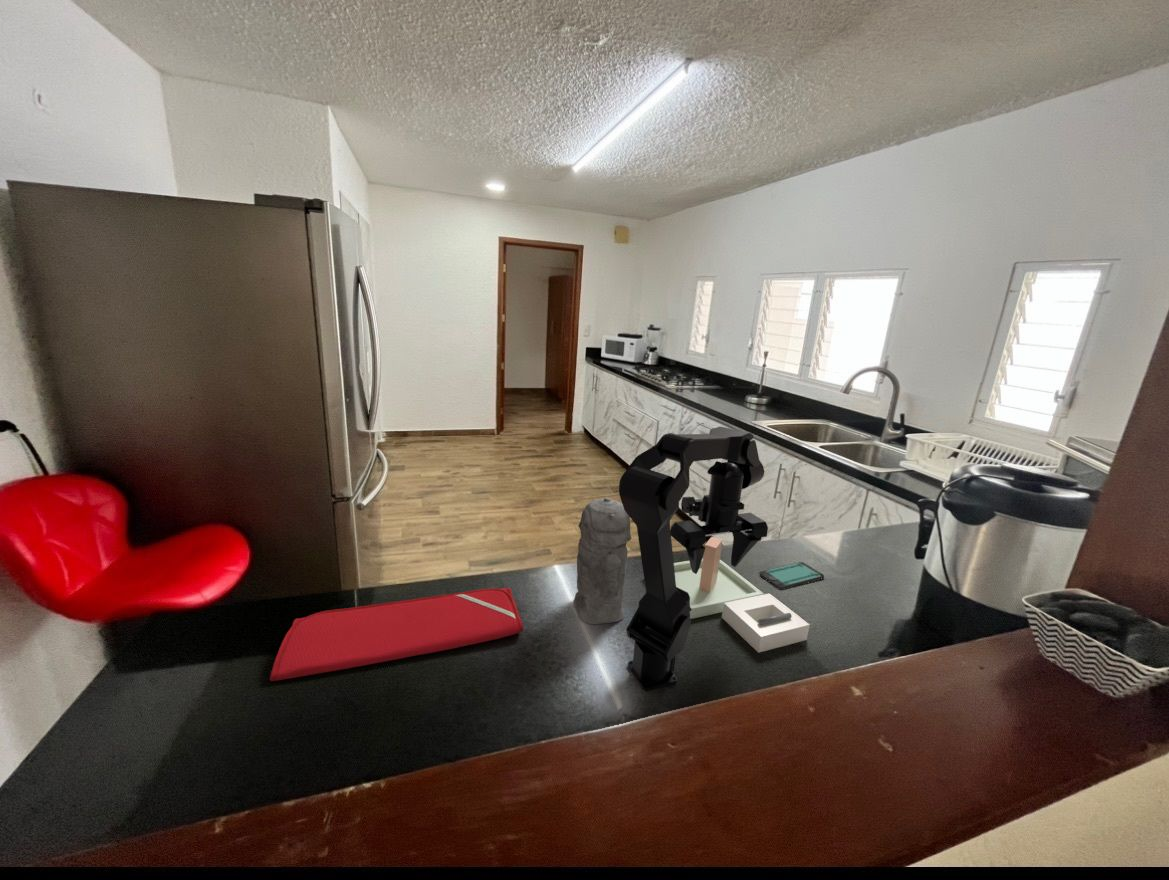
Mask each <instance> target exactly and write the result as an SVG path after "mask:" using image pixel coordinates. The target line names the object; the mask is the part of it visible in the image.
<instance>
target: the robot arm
mask: <svg viewBox="0 0 1169 880" xmlns="http://www.w3.org/2000/svg"><path fill="white" fill-rule="evenodd" d="M718 459H722V460H726V461H725V462H722V461H721V462H720V461H718ZM666 460H671V461H674V462H676V463H679V471H678V473H677V474H676V476H675V477H673V476H671V475H668V474H664V473H661V472H658V471H655V470H653V469H654V468H655V467H657V466H659V465H661V464H662V463H664V462H665V461H666ZM709 460H717V461H715V463H714V464H713V465H711V466H710V467H708V470H707V472H706V473H707V474H708V475H710V482H709V483H710V484H709V489H708V494H705V495H704V496H703V497H702V498H698V499H696V498H695V497H694V496H684V495H685V494H686V492H687V491H688V489H689V488H690V467H691V465H693V463H694V462H700V461H701V462H702V461H709ZM764 475H765V468H764V465H763V463H762V462H761V460H760V456H759V452H758V447H757V442H756V440H754V434H753V433H752V432H748V431H745V430H739V429H733V428H730V427H724V426H718V427H714V428H711V429H709V433H700V434H699V433H695V434H694V433H690V434H689V433H686V434H682V433H680V434H676V433H671V432H670V433H665V434H663V435H662V436H661V438H660V439H659V440H658V442H656V444H655V445H653V446H652V447H650V448H648V449H647V450H645V451H644V452H641V453H640V454H638V455H636V456H635V457H634V459H633V460H632V462H631V463H630V464H629V466H628V467H627V469H625V471H624V473H622V475H621V477H620V480H619V483H618V495H619V498H620V501H621V503H622V504H623V507H624V510H625V511H626V513H627V514H628V515H629V516H630V520H631V521H632V522H633V523H634V524H635V527H636V530H637V531H636V532H637V538H638V544H639V552H640V559H641V565H642V572H643V579H644V586H645V593H644V594H643V596H641V598H640V600H639V601H638V607H637V609H636V610H635V613H634V614H633V616H632V618H631V620H630V621H629V623H628V626H627V627H626V633H627V637H628V638H629V639H632V640H633V641H634V646H633V648H634V649H633V657H632V660H630V661H628V662H627V666H628V668H629V670H630V671H631V672H632V674H633V675H634V677H635V679H636V681H637V682H638V684H639V686H640V687H641V688H642V690H644V691H646V692H647V691H650V690H654V689H657V688H661V687H665V686H669V685H672V684H676V683H677V682H678V678H677V676H676V674H674V672H675V670H676V669H675V668H676V662H677V661H676V660H677V655H679V654H680V653H681V652H682V651H683V650H684V648H685V645H686V642H687V638H688V634H689V632H690V628H691V626H692V625H691V624H692V619H690V611H691V610H692V609H691V607H690V596H689V594H688V592H686V591H684V590H682V589H680V588H678V587H676V581H675V571H674V563H675V561H674V553H673V542H672V539H674V540H675V541H677V542H678V543H679V544H680V545H681V546H682V547H684V548H685V550H686V553H687V556H688V561H690V565H691V569H692V572H693V573H694V574H697V572H698V570H699V567H700V564H701V561H702V558H703V556H704V551H705V544H706V540H707V537H713V536H717V535H726V534H730V533H731V534H732V536H733V538H732V539H733V541H732V548H731V554H730V555H731V556H730V564H731V566H732V567H734V568H735V567H737V566H738V565H739V564H740V563H741V562H742V560H743V559H744V557H745V556H746V555H747V554H748V553H749V552H750V551H751V549H752V548H753V547H754V546H755V545H756V544H758V542H761V541H762V538H767V536H768V530H769V526H768V524H767V521H765V520H763V518H761V517H758V516H757V515H755V514H753V513H752V512H745V513H740V512H739V511H740V510H744V509H745V503H743V502H742V501H741V497H742V490H744V489H747V488H749V487H751V486H753V485H755V484H757V483H758V482H760V481H761V480H762V479H763V478H764ZM680 501H681V503H680ZM680 505H681V506H680ZM679 509H681V513H684V514H688V516H689V517H697V520H698V521H700V522H701V523H704V525H697V524H696V523H695V522H693V521H692V520H691V519H690V520H689V519H688V520H681V521H675V522H673V523H672V524H670V523H671V519H673V517H674V515H676V513H677V511H678V510H679Z"/></svg>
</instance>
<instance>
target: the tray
mask: <svg viewBox="0 0 1169 880" xmlns="http://www.w3.org/2000/svg"><path fill="white" fill-rule="evenodd" d="M702 563H703V558H702V561H701V564H700V567H699V570H698V572H697V574H694V573H693V572H692V569H691V565H690V561H689V560H684V561H679V562H674V571H675V581H676V587H678V588H680V589H682V590H684V591H686V592H688V594H689V596H690V607H691V609H692V610H691V611H690V619H691V620H692V619H697V618H701V617H705V616H711V615H715V614H719V613H722V612H723V606H724V603H726V602H730V601H735V600H740V599H745V598H749V597H754V596H759V595H764V594H765V593H764V592H763V591H761V590H760V589H758V588H757V587H756V586H755V585H754V584H752V583H751V582H750V581H748V580H747V579H746V578H745V577H743V576H742V575H741V574H740V573H738V572H737V571H736V570H735V569H733V568H732V567H731V566H729V565H728V564H727V563H725V562H724V561H723V560H721V559H720V561H719V568H718V575H717V582H716V584H715V585H714V587H713V588H712V590H711V591H710V592H708V591H705V590H702V589H699V586H700V578H701V571H702Z"/></svg>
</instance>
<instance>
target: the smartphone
mask: <svg viewBox="0 0 1169 880" xmlns="http://www.w3.org/2000/svg"><path fill="white" fill-rule="evenodd" d="M759 574H760V575H761V576H762V577H761V576H760V575H759ZM758 575H759V576H760V577H761V578H763V577H764V578H765V579H767V580H768V581H770V582H771V583H772V585H773V586H774V585H775V586H776V587H775V586H774V587H775V588H777V587H778V588H779V589H778V588H777V589H778V590H785V589H784V588H786V589H788V587H789V588H792V587H791V586H793V587H796V586H795V585H797V586H800V585H799V584H801V585H802V584H803V585H806V584H805V583H807V584H809V583H808V582H810V583H813V582H812V581H814V582H816V581H815V580H818V581H821V580H822V579H821V578H824V579H825V574H824V573H822V572H820V571H818V570H817V569H815V568H813V567H811V566H809V565H808V564H806V563H805V562H803V561H799V562H794V563H791V564H787V565H782V566H778V567H773V568H769V569H764V570H760V571H759V573H758ZM764 578H763V579H764ZM765 579H764V580H765ZM820 579H821V580H820ZM767 580H766V581H767ZM768 581H767V582H768ZM770 582H769V583H770ZM771 583H770V584H771Z"/></svg>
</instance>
